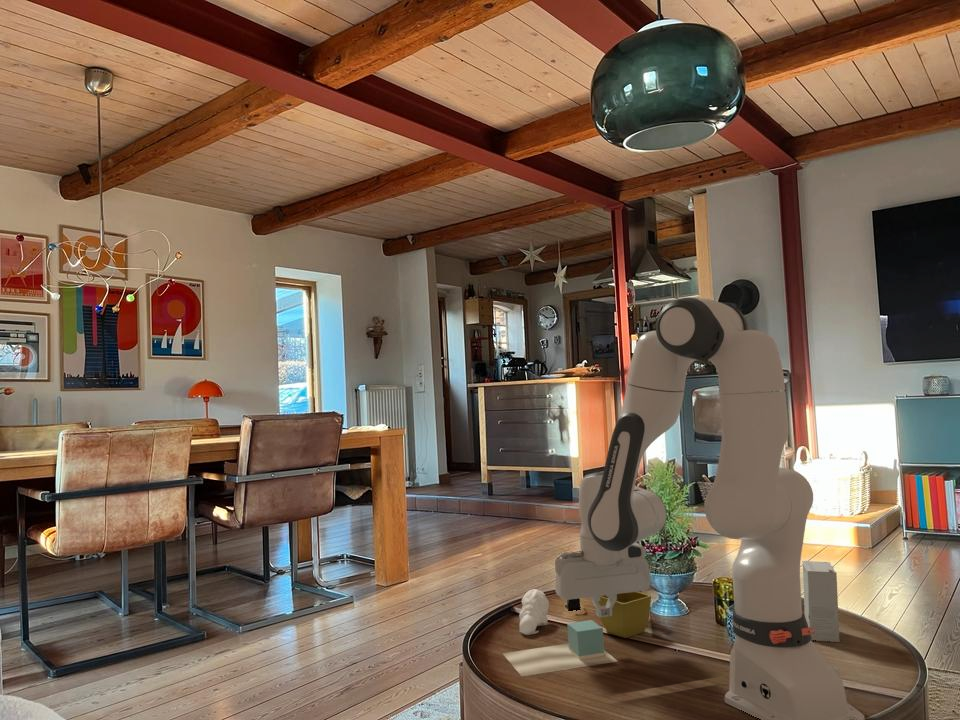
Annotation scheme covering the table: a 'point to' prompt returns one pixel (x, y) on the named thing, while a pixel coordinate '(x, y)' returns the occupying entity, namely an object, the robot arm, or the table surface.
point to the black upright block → (573, 604)
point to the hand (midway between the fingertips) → (604, 615)
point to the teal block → (585, 639)
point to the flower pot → (627, 614)
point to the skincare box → (821, 600)
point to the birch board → (551, 660)
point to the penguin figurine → (533, 611)
